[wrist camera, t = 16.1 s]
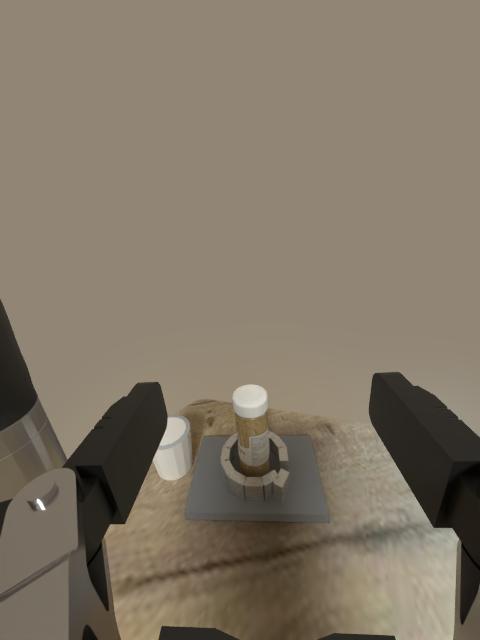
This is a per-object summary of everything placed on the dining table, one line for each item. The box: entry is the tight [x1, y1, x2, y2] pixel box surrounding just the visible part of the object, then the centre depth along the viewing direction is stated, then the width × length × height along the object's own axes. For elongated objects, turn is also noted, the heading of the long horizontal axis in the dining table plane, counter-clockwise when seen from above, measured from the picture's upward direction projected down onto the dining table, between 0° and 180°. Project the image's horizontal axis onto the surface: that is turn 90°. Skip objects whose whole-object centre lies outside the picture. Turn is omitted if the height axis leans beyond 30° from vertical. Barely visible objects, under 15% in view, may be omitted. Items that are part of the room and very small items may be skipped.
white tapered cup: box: [153, 415, 193, 480], centre depth 38 cm, size 7×7×7 cm
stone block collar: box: [220, 431, 290, 504], centre depth 35 cm, size 9×10×3 cm
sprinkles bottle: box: [232, 384, 271, 477], centre depth 33 cm, size 5×4×14 cm
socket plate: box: [184, 435, 329, 523], centre depth 36 cm, size 18×12×2 cm, turn 86°
